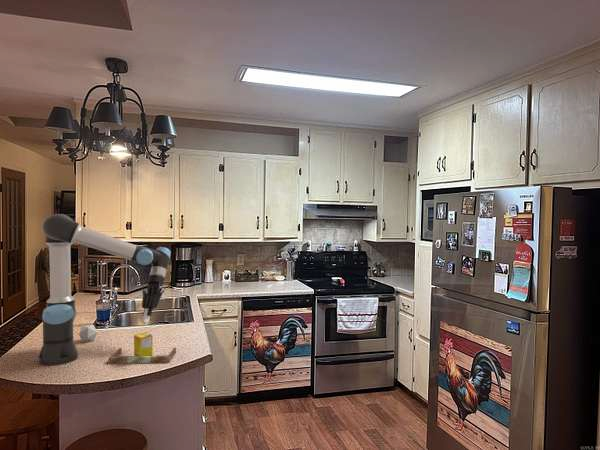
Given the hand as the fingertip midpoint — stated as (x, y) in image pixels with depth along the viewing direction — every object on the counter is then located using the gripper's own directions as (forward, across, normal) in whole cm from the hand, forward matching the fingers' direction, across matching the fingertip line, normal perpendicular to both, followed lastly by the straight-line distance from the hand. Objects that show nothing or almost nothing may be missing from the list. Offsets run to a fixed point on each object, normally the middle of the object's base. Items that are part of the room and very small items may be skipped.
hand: (145, 322), depth 196 cm
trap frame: (+17, -6, +1) cm, 18 cm away
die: (+7, +38, 0) cm, 38 cm away
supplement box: (+18, -7, +1) cm, 19 cm away
